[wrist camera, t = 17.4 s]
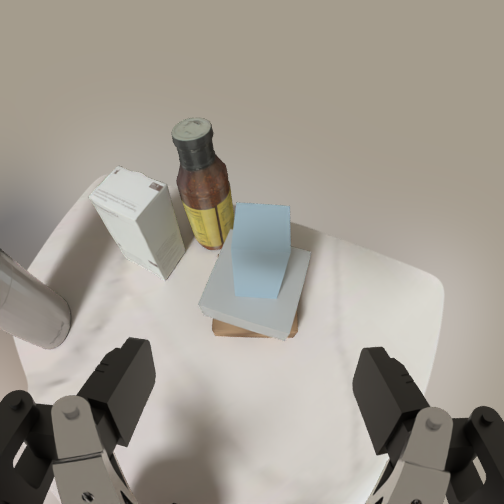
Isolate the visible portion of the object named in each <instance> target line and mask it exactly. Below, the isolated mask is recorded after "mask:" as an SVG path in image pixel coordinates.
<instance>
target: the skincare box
mask: <svg viewBox="0 0 504 504" xmlns="http://www.w3.org/2000/svg"><path fill="white" fill-rule="evenodd" d="M89 198H90V200H91V202H92V203H93V205H94V207H95V208H96V210H97V212H98V214H99V215H100V217H101V219H102V220H103V222H104V224H105V226H106V227H107V229H108V231H109V232H110V234H111V236H112V237H113V239H114V240H115V242H116V243H117V245H118V246H119V248H120V250H121V251H122V253H123V254H124V256H125V257H126V258H127V259H128V260H130V261H132V262H134V263H136V264H138V265H140V266H141V267H143V268H145V269H147V270H148V271H150V272H152V273H153V274H155V275H156V276H158V277H159V278H161V279H163V280H164V281H166V279H167V278H168V277H169V275H170V274H171V272H172V271H173V269H174V268H175V266H176V265H177V263H178V262H179V260H180V259H181V257H182V256H183V254H184V253H185V251H186V250H185V247H184V244H183V240H182V237H181V233H180V230H179V227H178V223H177V219H176V216H175V212H174V209H173V205H172V201H171V197H170V194H169V190H168V186H167V184H165V183H163V182H160V181H157V180H154V179H151V178H149V177H146V176H145V175H144V174H143V173H141V172H133V171H130V170H128V169H125V168H123V167H121V166H117V167H116V168H115V169H114V170H113V171H112V172H111V173H110V174H109V175H108V176H107V177H106V178H105V179H104V180H103V182H102V183H101V184H100V185H99V186H98V187H97V188H96V189H95V190H94V191H93V192H92V193H91V194H90V195H89Z"/></svg>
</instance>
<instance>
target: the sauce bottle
mask: <svg viewBox="0 0 504 504" xmlns="http://www.w3.org/2000/svg"><path fill="white" fill-rule="evenodd" d="M212 137H213V130H212V125H211V123H210V122H209V121H208V120H206V119H204V118H189V119H185V120H183V121H181V122H179V123H178V124H177V125H176V126H175V127H174V128H173V130H172V139H173V143H174V144H175V146H176V147H177V150H178V154H179V157H180V158H179V160H180V168H179V173H178V176H177V186H178V189H179V192H180V196H181V200H182V203H183V206H184V209H185V212H186V214H187V217H188V220H189V222H190V225H191V228H192V230H193V233H194V236H195V238H196V239H197V241H198V242H199V243H200V244H201V245H202V246H203V247H205V248H206V249H208V250H218V249H222V247H223V245H224V242H225V240H226V238H227V236H228V233H229V231H230V229H232V230H233V226H234V212H233V204H232V198H231V189H230V183H229V181H228V173H227V169H226V165H225V164H224V163H223V162H222V161H221V160H220V159H219V158H218V157H217V155H216V154H215V151H214V150H213V143H212Z"/></svg>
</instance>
